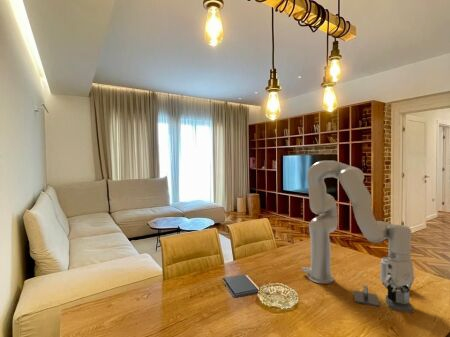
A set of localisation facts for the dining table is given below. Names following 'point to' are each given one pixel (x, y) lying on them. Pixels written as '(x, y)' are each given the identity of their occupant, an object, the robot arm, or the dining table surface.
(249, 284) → the dark grey book
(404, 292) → the collar
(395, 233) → the robot arm
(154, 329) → the dining table surface
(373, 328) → the dining table surface
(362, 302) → the stand
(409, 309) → the square base with peg
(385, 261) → the can
